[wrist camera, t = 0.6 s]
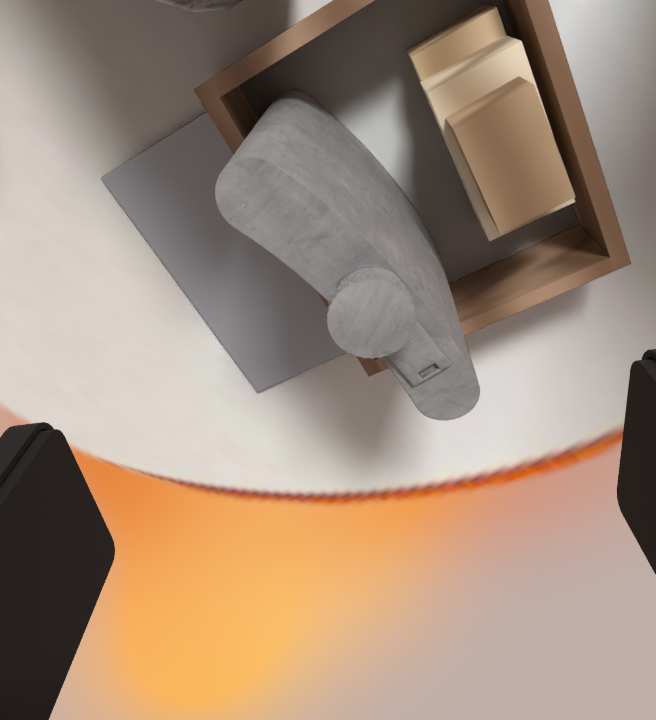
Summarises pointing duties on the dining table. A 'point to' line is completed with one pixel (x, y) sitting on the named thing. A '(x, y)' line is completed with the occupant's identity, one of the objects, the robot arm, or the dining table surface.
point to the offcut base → (456, 41)
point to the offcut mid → (467, 86)
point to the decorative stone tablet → (202, 4)
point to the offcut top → (511, 154)
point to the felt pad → (222, 258)
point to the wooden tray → (571, 134)
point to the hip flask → (352, 248)
